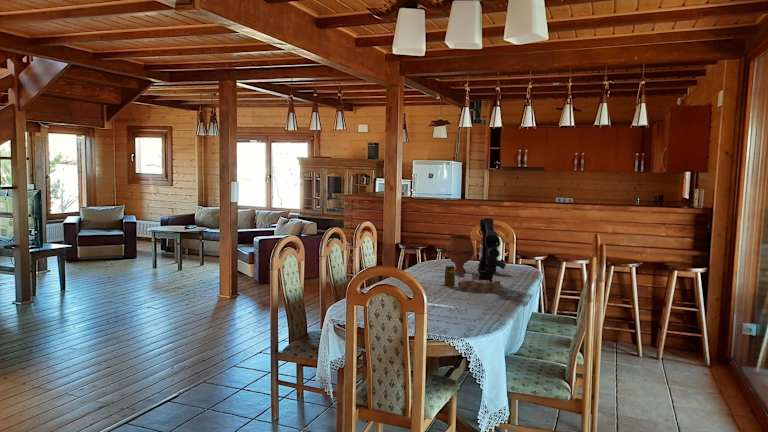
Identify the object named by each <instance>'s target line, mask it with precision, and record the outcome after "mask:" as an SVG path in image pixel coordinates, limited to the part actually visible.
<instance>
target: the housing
mask: <svg viewBox="0 0 768 432" xmlns="http://www.w3.org/2000/svg"><path fill="white" fill-rule="evenodd" d="M487 281H489V280H479V279H472V282H465V281H464V278H459V280H458V283H457V290H458V291H465V292H483V293H484V292H485V293H501V280H493V281H494V283H487Z"/></svg>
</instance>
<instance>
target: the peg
mask: <svg viewBox="0 0 768 432" xmlns="http://www.w3.org/2000/svg"><path fill="white" fill-rule="evenodd" d="M463 274H464V276H463V277H464V278H463V279H464V281H465V282H472V280H473V273H470V272H469V273H467V272H466V273H463Z"/></svg>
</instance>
